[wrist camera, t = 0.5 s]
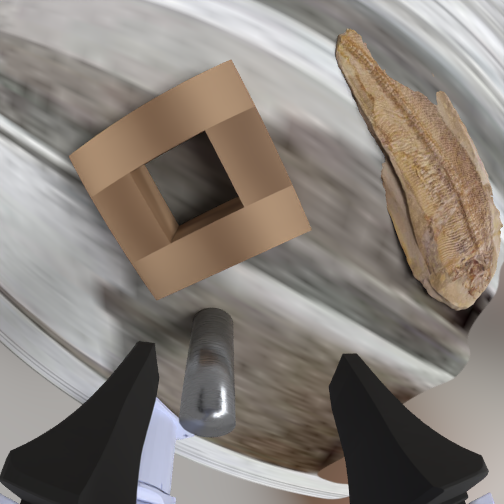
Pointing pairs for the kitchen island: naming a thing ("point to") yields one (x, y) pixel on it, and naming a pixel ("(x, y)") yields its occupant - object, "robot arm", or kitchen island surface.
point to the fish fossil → (428, 180)
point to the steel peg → (209, 376)
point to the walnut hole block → (211, 222)
